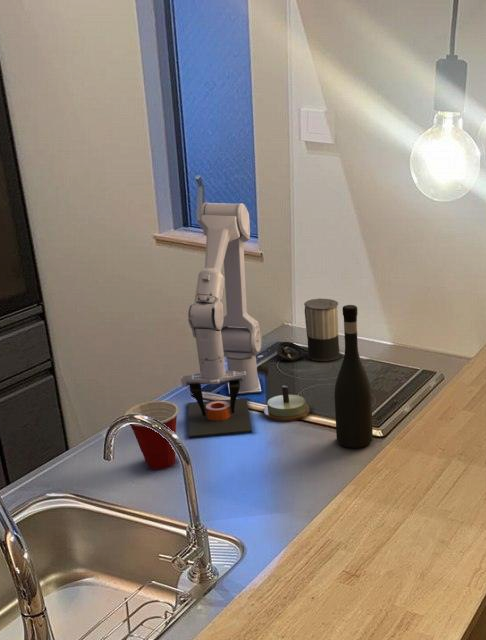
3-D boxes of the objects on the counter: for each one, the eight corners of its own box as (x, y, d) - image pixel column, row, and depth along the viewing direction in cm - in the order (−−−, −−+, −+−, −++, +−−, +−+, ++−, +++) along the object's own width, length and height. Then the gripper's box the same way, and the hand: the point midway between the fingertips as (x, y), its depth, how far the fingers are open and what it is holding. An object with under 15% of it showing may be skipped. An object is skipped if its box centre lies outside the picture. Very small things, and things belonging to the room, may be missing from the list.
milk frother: (347, 356, 238) (345, 302, 230) (304, 370, 228) (300, 315, 220) (314, 345, 246) (310, 292, 238) (270, 358, 236) (265, 304, 228)
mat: (188, 405, 208) (188, 402, 208) (246, 400, 211) (246, 398, 210) (189, 438, 192) (188, 435, 191) (252, 432, 194) (251, 430, 194)
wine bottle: (333, 436, 192) (326, 302, 176) (367, 432, 194) (363, 299, 178) (341, 451, 186) (335, 313, 170) (376, 446, 188) (373, 310, 172)
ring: (206, 412, 203) (205, 402, 201) (230, 410, 204) (229, 400, 202) (207, 421, 198) (205, 411, 197) (231, 419, 199) (230, 409, 198)
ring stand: (262, 405, 208) (259, 379, 204) (307, 402, 210) (305, 376, 206) (265, 423, 199) (263, 396, 195) (313, 419, 201) (311, 392, 197)
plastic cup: (123, 470, 178) (112, 416, 172) (154, 449, 187) (145, 397, 180) (166, 479, 175) (157, 424, 168) (196, 457, 183) (188, 405, 177)
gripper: (178, 364, 188) (187, 422, 196) (244, 359, 191) (250, 416, 198) (178, 354, 194) (186, 410, 201) (242, 349, 197) (248, 405, 204)
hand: (218, 412), depth 200 cm, fingers open, 6 cm apart
